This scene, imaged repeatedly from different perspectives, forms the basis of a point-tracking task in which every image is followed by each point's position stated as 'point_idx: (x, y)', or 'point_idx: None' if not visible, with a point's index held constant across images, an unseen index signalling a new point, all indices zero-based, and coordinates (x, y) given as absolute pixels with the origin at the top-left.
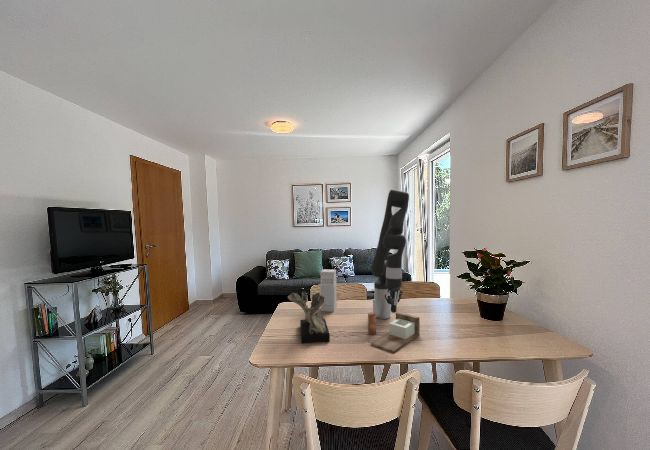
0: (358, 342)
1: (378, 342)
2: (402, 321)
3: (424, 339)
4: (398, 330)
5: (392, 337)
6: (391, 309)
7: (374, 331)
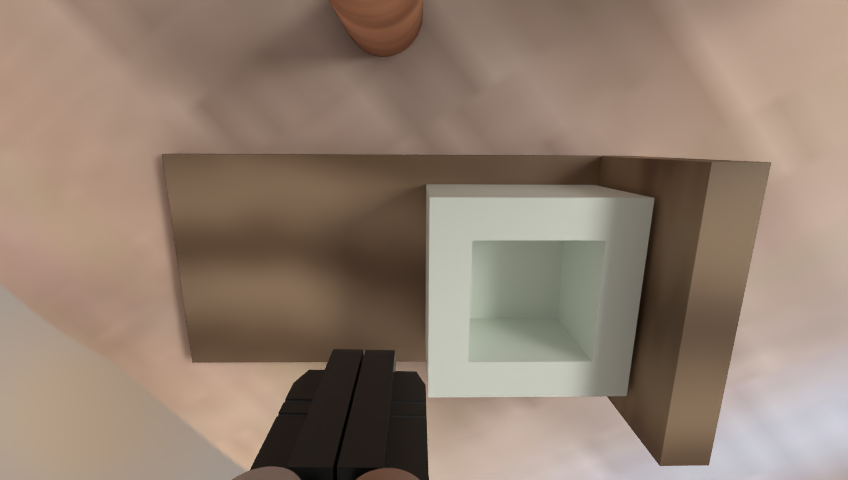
0: (127, 35)
1: (220, 201)
2: (597, 276)
3: (551, 405)
4: (427, 299)
5: (390, 239)
6: (290, 409)
7: (367, 45)
